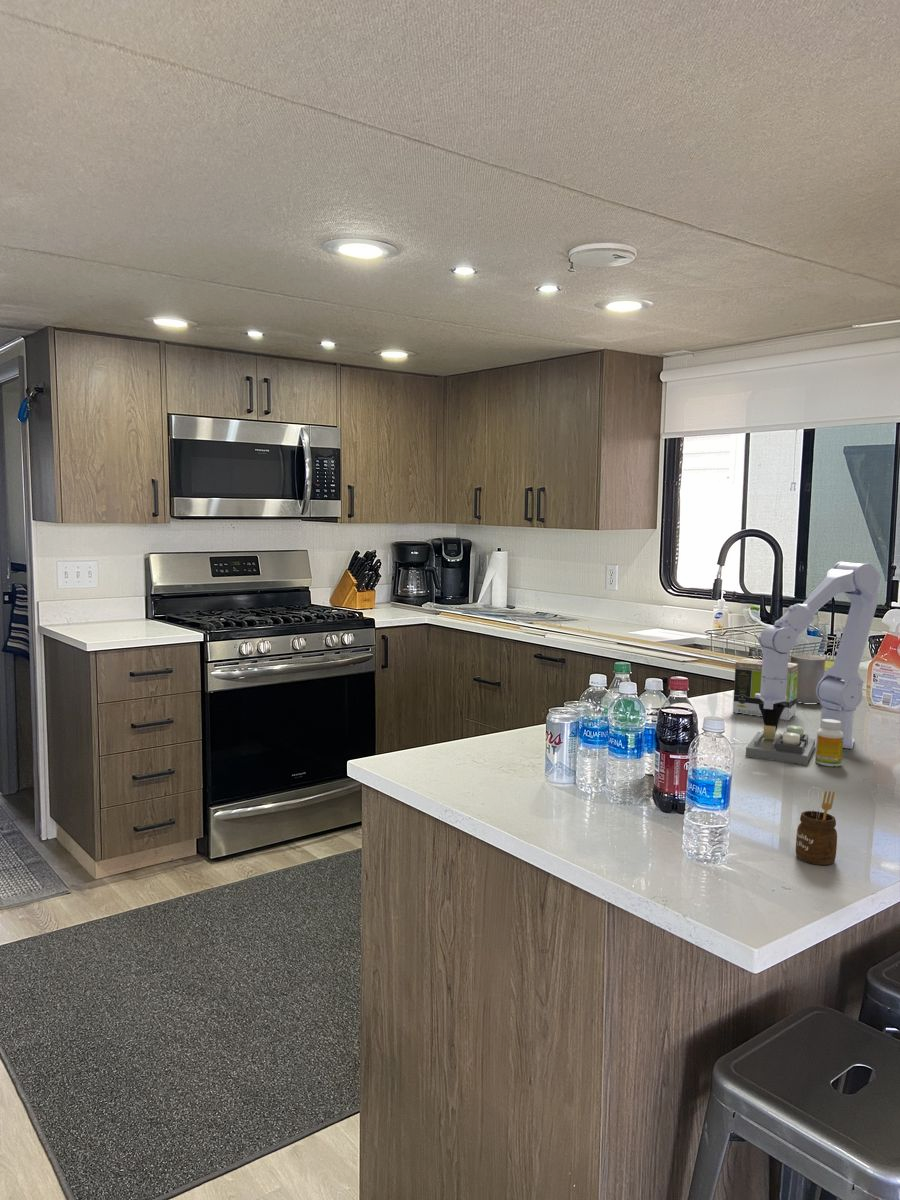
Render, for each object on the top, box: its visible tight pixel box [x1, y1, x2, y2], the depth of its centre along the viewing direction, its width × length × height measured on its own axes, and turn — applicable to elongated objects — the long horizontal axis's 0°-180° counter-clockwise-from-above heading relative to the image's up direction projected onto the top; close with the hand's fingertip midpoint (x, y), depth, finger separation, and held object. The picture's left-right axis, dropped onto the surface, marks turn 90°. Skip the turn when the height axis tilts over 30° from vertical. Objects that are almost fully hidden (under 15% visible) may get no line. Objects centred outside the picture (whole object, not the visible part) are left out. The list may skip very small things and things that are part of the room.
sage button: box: [786, 725, 805, 738], centre depth 209 cm, size 4×4×2 cm
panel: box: [745, 730, 816, 766], centre depth 207 cm, size 18×13×4 cm
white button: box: [782, 731, 800, 746], centre depth 202 cm, size 4×4×2 cm
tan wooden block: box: [762, 723, 776, 739], centre depth 210 cm, size 2×2×3 cm
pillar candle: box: [790, 651, 827, 703], centre depth 268 cm, size 10×10×15 cm
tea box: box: [732, 658, 798, 721], centre depth 248 cm, size 15×10×15 cm
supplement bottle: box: [814, 719, 843, 768], centre depth 198 cm, size 5×5×10 cm
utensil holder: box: [795, 786, 838, 866], centre depth 141 cm, size 6×6×12 cm
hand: (770, 734), depth 212 cm, fingers closed
